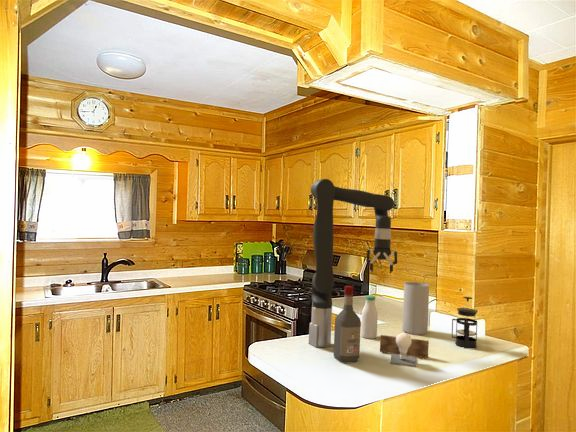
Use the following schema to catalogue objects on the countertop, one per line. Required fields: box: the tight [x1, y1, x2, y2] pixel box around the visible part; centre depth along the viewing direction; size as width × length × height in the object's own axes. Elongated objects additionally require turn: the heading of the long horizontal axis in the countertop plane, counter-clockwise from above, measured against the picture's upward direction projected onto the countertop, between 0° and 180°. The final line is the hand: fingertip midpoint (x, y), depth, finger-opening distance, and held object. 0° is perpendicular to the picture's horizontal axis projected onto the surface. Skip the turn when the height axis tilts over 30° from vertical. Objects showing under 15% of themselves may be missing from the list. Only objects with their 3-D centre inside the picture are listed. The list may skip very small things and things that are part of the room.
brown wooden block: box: [379, 334, 429, 360], centre depth 174 cm, size 20×5×7 cm, turn 73°
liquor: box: [333, 285, 361, 364], centre depth 166 cm, size 9×9×30 cm
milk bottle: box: [360, 295, 378, 340], centre depth 198 cm, size 8×8×20 cm
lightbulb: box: [395, 332, 412, 360], centre depth 166 cm, size 6×6×11 cm
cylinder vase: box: [402, 281, 430, 336], centre depth 210 cm, size 12×12×25 cm
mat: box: [389, 353, 417, 368], centre depth 166 cm, size 10×10×1 cm
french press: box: [451, 296, 478, 349], centre depth 190 cm, size 12×9×23 cm
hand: (381, 272), depth 191 cm, fingers open, 8 cm apart
